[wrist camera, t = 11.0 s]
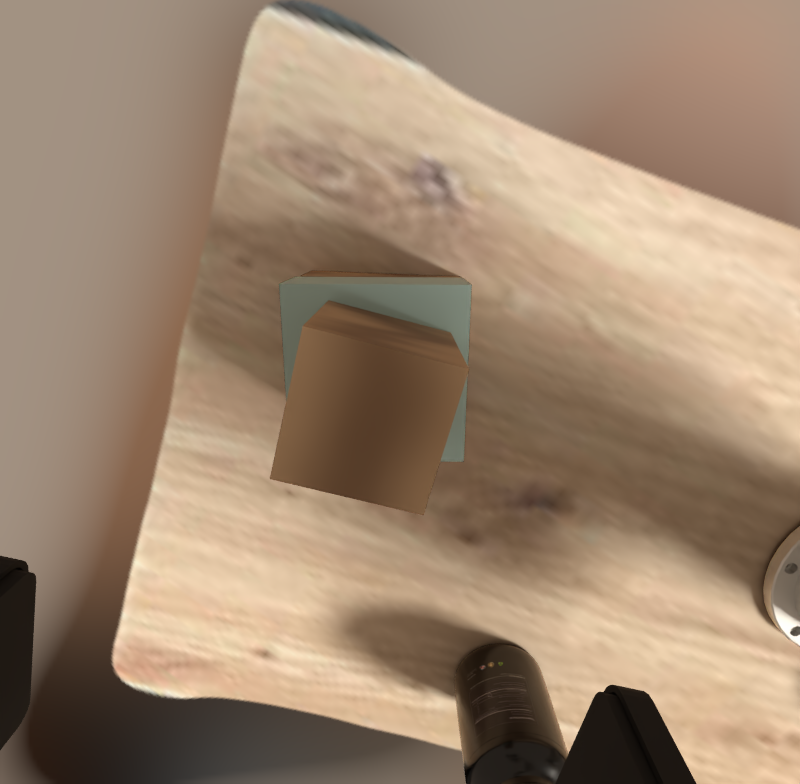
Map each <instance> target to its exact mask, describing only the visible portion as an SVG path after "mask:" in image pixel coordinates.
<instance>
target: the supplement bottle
mask: <svg viewBox="0 0 800 784" xmlns="http://www.w3.org/2000/svg"><path fill="white" fill-rule="evenodd" d="M454 687H455V697H456V706H457V714H458V722H459V731H460V739H461V747H462V756H463V763H464V771H465V779H466V784H555V783H556V781H557V778H558V776H559V774H560V772H561V770H562V767H563V765H564V763H565V761H566V758H567V756H568V751H567V748H566V745H565V742H564V739H563V736H562V733H561V730H560V727H559V724H558V721H557V718H556V715H555V712H554V708H553V705H552V702H551V699H550V696H549V693H548V690H547V687H546V684H545V681H544V678H543V675H542V672H541V670H540V668H539V666H538V664H537V662H536V661H535V660H534V658H533V657H532V656H531V655H529V654H528V653H527V652H525V651H524V650H522V649H520V648H518V647H515V646H512V645H507V644H491V645H487V646H483V647H480V648H478V649H476V650H474V651H473V652H471V653H470V654H469V655H467V656H466V657H465V658H464V659H463V661H462V662H461V663H460V665H459V667H458V669H457V671H456V675H455V680H454Z"/></svg>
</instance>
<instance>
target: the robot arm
mask: <svg viewBox="0 0 800 784" xmlns="http://www.w3.org/2000/svg"><path fill="white" fill-rule="evenodd" d="M35 592H36V576H35V574H34V573H30V572H28V565H27V563H26V562H25V561H22V560H18V559H13V558H8V557H3V556H0V750H1V749H2V747H3V746H4V744H5V743H6V742H7V741H8V740H9V738H10V737H11V736H12V735H13V733H14V732H15V731H16V729H17V728H18V727H19V725H20V724H21V722H22V720H23V718H24V717H25V714H26V712H27V710H28V707H29V703H30V691H31V672H32V653H33V652H32V651H33V633H34V612H35ZM763 594H764V604H765V606H766V609H767V612H768V615H769V617H770V618H771V619H772V621H773V622H774V624H775V625H776V627H777V628H778V629H779V630H780V631H781V632H782V633H783V634H784V635H785V636H786V637H787V638H788V639H789V640H791V641H792V642H794V643H795V644H796V645H798V646H799V647H800V526H799V527H798V528H797V529H795V530H794V531H793V532H792V533H791V534H790V535H789V536H788V537H787V538H786V539H785V541H784V542H783V543H782V544H781V545H780V546H779V548H778V549H777V551H776V553H775V554H774V556H773V558H772V560H771V561H770V564H769V566H768V569H767V572H766V575H765V580H764V587H763ZM555 784H696V782H695V780H694V778H693V776H692V775H691V773H690V771H689V769H688V767H687V765H686V763H685V761H684V759H683V757H682V755H681V754H680V752H679V750H678V748H677V746H676V744H675V742H674V740H673V738H672V736H671V734H670V733H669V731H668V729H667V727H666V725H665V723H664V721H663V719H662V717H661V715H660V714H659V712H658V710H657V708H656V706H655V704H654V702H653V700H652V699H651V697H650V696H649V695H648V694H647V693H646V692H644V691H640V690H635V689H630V688H626V687H621V686H616V685H609V686H608V687H607V688H606V689H605V691H604V692H598V693H597V694H596V695H595V697H594V699H593V701H592V703H591V705H590V707H589V710H588V712H587V714H586V716H585V719H584V721H583V723H582V725H581V727H580V730H579V732H578V734H577V736H576V738H575V741H574V743H573V745H572V747H571V750H570V752H569V754H568V756H567V758H566V761H565V763H564V765H563V767H562V770H561V772H560V774H559V776H558V778H557V781H556V783H555Z"/></svg>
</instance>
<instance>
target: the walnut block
mask: <svg viewBox="0 0 800 784" xmlns="http://www.w3.org/2000/svg"><path fill="white" fill-rule="evenodd" d="M468 372H469V368H468V366H467V364H466V362H465V360H464V358H463V356H462V354H461V352H460V350H459V348H458V346H457V344H456V342H455V340H454V338H453V336H452V334H451V332H447V331H443V330H439V329H435V328H432V327H428V326H424V325H420V324H417V323H413V322H409V321H405V320H402V319H398V318H394V317H390V316H387V315H383V314H379V313H375V312H371V311H368V310H364V309H360V308H356V307H353V306H349V305H345V304H341V303H338V302H334V301H330V300H328V301H327V302H326V303H325V304H324V305H323V306H322V307H321V308H320V309H319V310H318V311H317V312H316V313H315V314H314V315H313V316H312V317H311V318H310V319H309V320H308V321H307V322H306V323H305V324H304V325H303V326H302V331H301V336H300V340H299V345H298V350H297V354H296V359H295V364H294V368H293V373H292V378H291V382H290V387H289V392H288V396H287V401H286V406H285V410H284V415H283V420H282V425H281V429H280V434H279V439H278V443H277V448H276V453H275V457H274V462H273V467H272V471H271V476H270V479H273V480H277V481H281V482H285V483H289V484H294V485H298V486H302V487H306V488H311V489H315V490H319V491H323V492H327V493H332V494H336V495H340V496H344V497H349V498H353V499H357V500H361V501H365V502H370V503H374V504H378V505H382V506H387V507H391V508H395V509H399V510H404V511H408V512H412V513H416V514H420V515H424V512H425V509H426V505H427V502H428V499H429V496H430V493H431V490H432V486H433V483H434V480H435V477H436V474H437V470H438V467H439V464H440V461H441V458H442V455H443V451H444V448H445V445H446V442H447V439H448V436H449V432H450V429H451V426H452V423H453V420H454V416H455V413H456V410H457V407H458V404H459V401H460V397H461V394H462V391H463V388H464V385H465V382H466V378H467V375H468Z"/></svg>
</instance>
